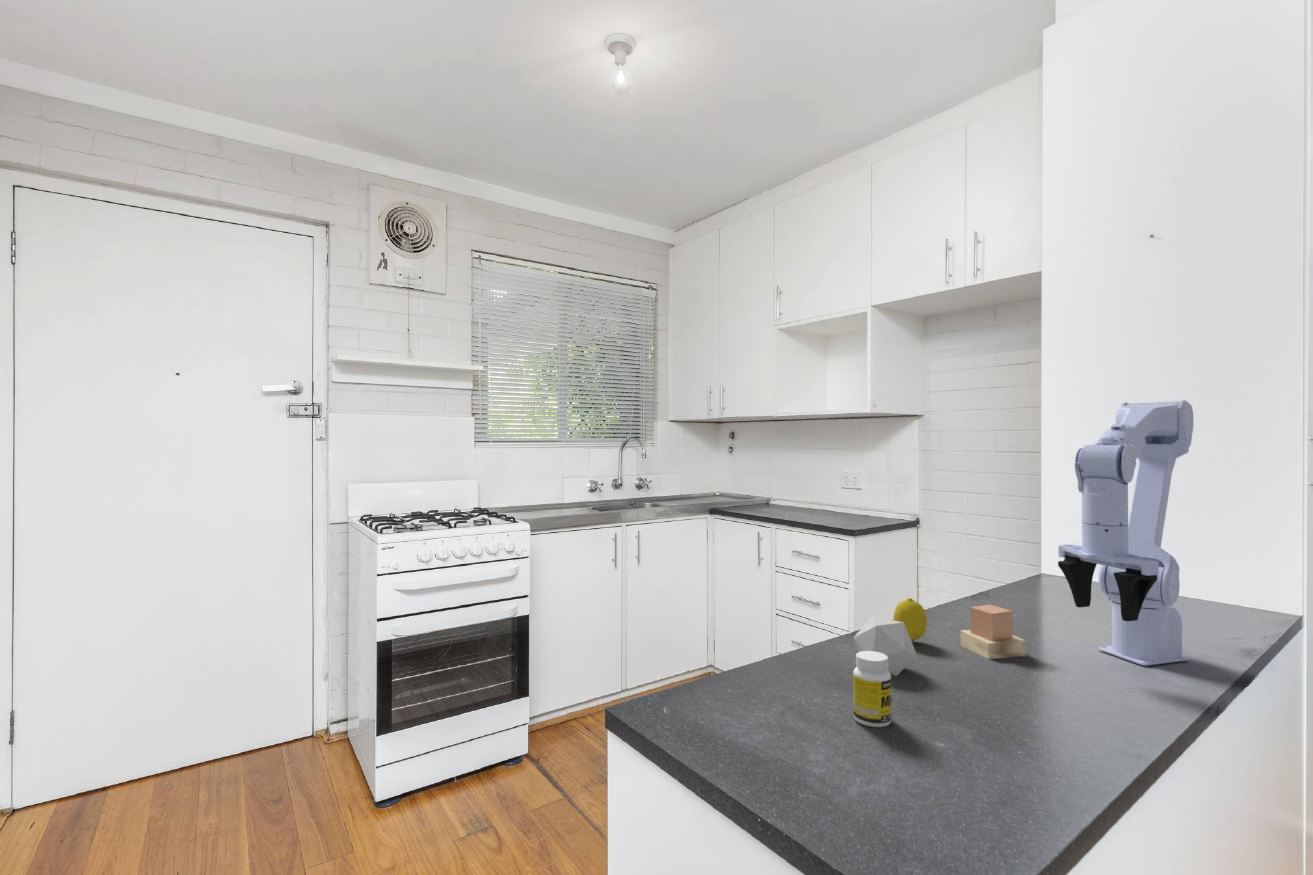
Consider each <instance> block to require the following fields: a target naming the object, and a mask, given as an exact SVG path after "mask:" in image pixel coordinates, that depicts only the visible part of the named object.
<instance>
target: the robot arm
mask: <svg viewBox="0 0 1313 875" xmlns="http://www.w3.org/2000/svg"><path fill="white" fill-rule="evenodd" d="M1193 409H1194V408H1193V406H1192V405H1191V403H1190V402H1189V401H1187V400H1186V399H1184V400H1183V399H1181V400H1179V401H1177V400H1176V401H1160V402H1159V401H1154V402H1131V403H1130V402H1122V403H1120V405H1119V406H1118V408H1117V409H1116V413H1115V423H1113V424H1112V425H1111V426H1110V427H1109V428H1107V429H1106V430H1105V431H1104V432H1103V433H1102V435H1101V436H1100V437H1099V438H1098V439H1097V440H1096V441H1095V442H1094V443H1093V444H1085V445H1084V446H1083V447H1079V448H1078V449H1077V451H1076V454H1075V457H1074V458H1075V459H1074V472H1075V476H1076V479H1077V489H1078V492H1079V493H1081V546H1080V545H1073V544H1068V543H1067V544H1058V546H1057V548H1058V557H1059V558H1064V559H1063V560H1058V561H1057V565H1058V567H1059V569H1060V570H1061V572H1062V573H1063V575H1064V577H1065V579H1066V581H1067V583H1068V585H1069V589H1070V591H1071V596H1072V598H1073V602H1074V604H1075V607H1076V608H1089V607H1090V605H1091V600H1092V584H1093V577H1094V573H1095V570H1096V567H1097V565H1100V566H1099V571H1098V586H1099V589H1100V590H1101V592H1102V594H1103V595H1105V596H1107V600H1108V601H1110V602H1111V645H1105V646H1098V650H1099V651H1100V652H1101V651H1102V652H1104V653H1106V654H1110V655H1112V656H1114V657H1117V658H1121V659H1123V660H1126V661H1129V662H1132V663H1134V664H1137V665H1141V666H1152V665H1161V664H1169V663H1170V664H1171V663H1177V662H1185V661H1189V658H1188V656H1185V655H1183V621H1182V616H1181V614H1180V613H1179V611H1178V609H1177V608H1175V606H1173V605H1174V604H1176V602H1177V601H1178V598H1179V595H1180V587H1181V586H1180V565H1179V564H1178V562H1177V559H1176V558H1175V557H1174V556H1173V555H1172V554H1170V553H1169V552H1168V551H1166V550H1165V549H1163V548H1162V547H1161V546H1162V540H1163V534H1164V529H1165V522H1166V513H1167V510H1168V509H1167V508H1168V501H1169V496H1170V495H1169V494H1170V488H1171V482H1172V476H1173V472H1174V467H1175V464H1176V461H1177V458H1180V457H1182V456H1184V455H1187V454H1189V450H1190V447H1191V445H1192V439H1193V438H1192V437H1193V432H1194V427H1195V426H1194V410H1193ZM1137 461H1138V467H1137ZM1136 468H1137V471H1136V472H1137V473H1136V478H1135V484H1134V490H1133V494H1132V495H1133V497H1132V502H1131V508H1130V511H1129V483H1131V482H1132V481H1133V479H1134V474H1135V469H1136ZM1129 512H1130V514H1129Z"/></svg>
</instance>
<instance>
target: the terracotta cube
mask: <svg viewBox="0 0 1313 875" xmlns="http://www.w3.org/2000/svg"><path fill="white" fill-rule="evenodd" d="M969 609H970V630H971V633H972V634H975V635H978V636H980V637H983V638H986V639H989V640H992V641H994V640H1000V639H1007V638H1013V635H1014V633H1013V632H1014V630H1013V628H1014V627H1013V610H1010V609H1006V608H1003V607H1000V606H996V605H992V604H985V605H984V604H983V605H978V606H971V607H970V608H969Z"/></svg>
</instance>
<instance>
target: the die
mask: <svg viewBox="0 0 1313 875" xmlns="http://www.w3.org/2000/svg"><path fill="white" fill-rule="evenodd" d="M853 642H854V644H855V646H856V648H857V651H858V652H861V651H875V652H880V653H883V654H885V655H886V656H887V657H888V665H889V666H888V669H887V670H888V671H889V672H890V674H891V676H894V677H898V675H899V674H900V673H902V671H903V670H904V669H905V667H906V666H908V664H909V663H910V661H911V660H913V658H914V657H915V655H916V654H917V652H916V648H915V646H914V645H913V644H914V643H913V642H911V639H910V637H909V634H908V632H907V629H906V627H905V624H904V622H899V621H894V619H889V618H883V617H879V616H871V618H870V619H869V620H868V621H867V622H866V623H865V624H864V625H863V626H862V628H861V629H860V630H859V631H858V632H857V633H856V634H855V635H854V637H853Z"/></svg>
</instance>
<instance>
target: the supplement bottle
mask: <svg viewBox="0 0 1313 875" xmlns="http://www.w3.org/2000/svg"><path fill="white" fill-rule="evenodd" d="M855 665H856V667H855V668H854V669H853V671H852V677H853V678H852V680H853V681H852V682H853V685H852V686H853V687H852V688H853V689H852V690H853V693H852V694H853V701H852V702H853V703H852V704H853V705H852V707H853V708H852V709H853V710H852V711H853V713H852V714H853V715H852V716H853V718H854V720H855V721H856V722H858V723H859V724H861V725H863V726H867V727H872V728H884V727H887V726H889V725H891V723H892V675H891V674H890V672H889V671H888V670H887V669H888V666H889V665H888V657H887V656H886V655H885V654H883V653H880V652H875V651H861V652H859V651H858V652H856V654H855Z"/></svg>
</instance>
